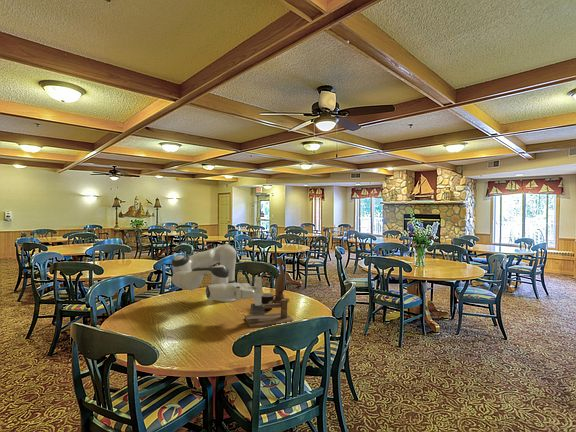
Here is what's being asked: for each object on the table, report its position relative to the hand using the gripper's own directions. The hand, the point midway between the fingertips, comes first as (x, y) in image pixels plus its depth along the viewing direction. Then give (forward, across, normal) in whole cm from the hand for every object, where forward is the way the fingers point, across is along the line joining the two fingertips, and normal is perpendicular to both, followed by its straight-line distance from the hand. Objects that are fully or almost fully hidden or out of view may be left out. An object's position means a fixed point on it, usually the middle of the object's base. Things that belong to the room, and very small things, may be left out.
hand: (259, 289), depth 191 cm
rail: (-1, 0, -9) cm, 9 cm away
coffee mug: (+11, -20, -19) cm, 30 cm away
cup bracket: (+6, 0, -19) cm, 20 cm away
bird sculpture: (+22, -35, -19) cm, 46 cm away
